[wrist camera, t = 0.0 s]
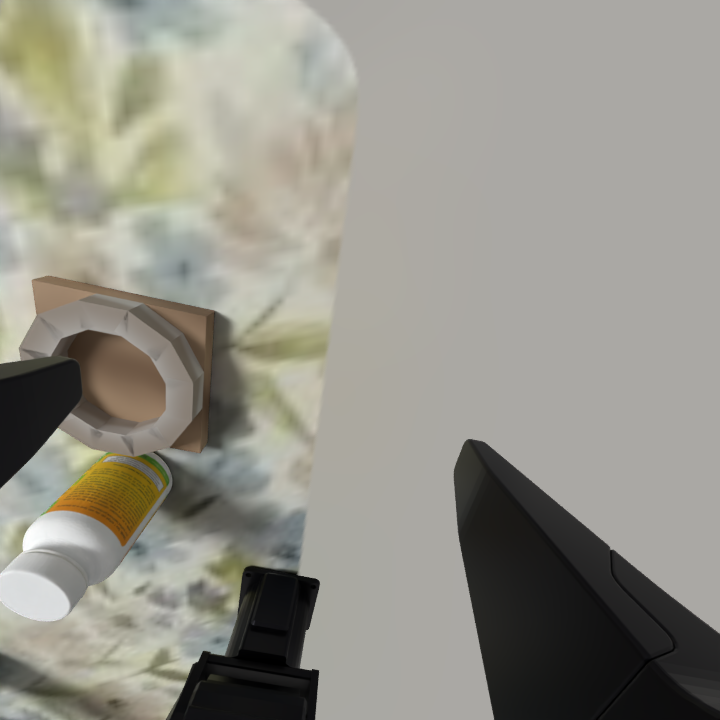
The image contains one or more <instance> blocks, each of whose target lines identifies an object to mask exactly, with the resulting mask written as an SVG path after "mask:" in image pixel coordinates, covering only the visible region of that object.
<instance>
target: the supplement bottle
mask: <svg viewBox="0 0 720 720" xmlns="http://www.w3.org/2000/svg"><path fill="white" fill-rule="evenodd" d="M171 487H172V475H171V472H170V470H169V468H168V466H167V465H166V463H165V462H164V461H163V460H162V459H161V458H160V457H159V456H158V455H156V454H155V453H153V452H150V453H146V454H143V455H139V456H135V457H132V456H127V455H122V454H116V453H111V452H107V453H105V454H104V455H103V456H102V457H101V458H100V459H99V460H98V461H97V462H96V463H95V464H94V465H93V466H92V467H91V468H90V469H89V470H88V471H87V472H86V473H85V474H84V475H82V476H81V477H80V478H79V479H78V480H77V481H76V482H75V483H74V484H73V485H72V486H71V487H70V488H69V489H68V490H67V491H66V492H65V493H64V494H63V495H62V496H61V497H60V498H59V499H58V500H57V501H56V502H55V503H53V504H52V505H51V506H50V507H49V508H48V509H47V510H46V511H45V512H44V513H43V514H42V515H41V516H40V517H39V518H38V519H37V520H36V521H35V522H34V523H33V524H32V525H31V526H30V527H29V528H28V530H27V532H26V534H25V536H24V539H23V552H22V553H21V554H20V555H18V557H17V558H15V559H14V560H13V561H12V562H11V563H10V564H9V565H8V566H7V567H6V569H5V570H4V571H3V572H2V573H1V574H0V601H1V602H2V603H3V604H4V605H5V606H6V607H8V608H9V609H11V610H12V611H14V612H15V613H17V614H19V615H21V616H24V617H26V618H29V619H33V620H38V621H57V620H60V619H62V618H64V617H66V616H67V615H68V614H69V613H70V612H71V611H72V609H73V608H74V607H75V605H76V604H77V603H78V601H79V600H80V599H81V598H82V597H83V595H84V593H85V591H86V589H87V587H88V586H91V585H94V584H97V583H100V582H102V581H104V580H105V579H107V578H108V577H109V576H110V575H111V574H112V573H113V572H114V571H115V570H116V568H117V567H118V566H119V565H120V563H121V562H122V560H123V559H124V557H125V556H126V555H127V553H128V552H129V550H130V549H131V547H132V546H133V544H134V543H135V542H136V540H137V539H138V537H139V536H140V534H141V533H142V532H143V530H144V529H145V527H146V526H147V524H148V523H149V522H150V520H151V519H152V517H153V516H154V514H155V513H156V512H157V510H158V509H159V507H160V506H161V504H162V503H163V501H164V500H165V498H166V497H167V495H168V494H169V492H170V490H171Z"/></svg>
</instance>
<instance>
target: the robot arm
mask: <svg viewBox="0 0 720 720" xmlns="http://www.w3.org/2000/svg"><path fill="white" fill-rule="evenodd" d="M82 393H83V389H82V379H81V369H80V364H79V362H78V361H77V360H75V359H72V358H67V357H62V356H50V357H43V358H37V359H30V360H23V361H17V362H10V363H3V364H0V488H1V487H2V486H3V485H4V484H5V483H7V482H8V481H9V480H10V479H11V478H12V477H13V476H14V475H15V474H16V473H17V472H18V471H19V470H20V469H21V468H22V467H23V466H24V465H25V464H26V463H27V462H28V461H29V460H30V459H31V458H32V457H33V456H34V455H35V454H36V452H37V451H38V450H39V449H40V448H41V447H42V446H43V445H44V443H45V442H46V441H47V440H48V439H49V437H50V436H51V435H52V434H53V433H54V432H55V430H56V429H57V428H58V427H59V426H60V424H61V423H62V422H63V421H64V420H65V418H66V417H67V416H68V415H69V414H70V413H71V411H72V410H73V409H74V408H75V407H76V405H77V404H78V403H79V402H80V400H81V397H82ZM454 486H455V499H456V512H457V525H458V534H459V541H460V546H461V551H462V557H463V562H464V567H465V572H466V577H467V582H468V587H469V593H470V597H471V602H472V608H473V613H474V618H475V623H476V628H477V633H478V638H479V644H480V649H481V654H482V659H483V664H484V669H485V674H486V680H487V684H488V690H489V695H490V700H491V705H492V710H493V715H494V720H720V634H719V633H718V632H717V631H716V630H714V629H713V628H712V627H710V626H709V625H708V624H706V623H705V622H704V621H702V620H701V619H700V618H698V617H697V616H696V615H694V614H693V613H692V612H691V611H689V610H688V609H687V608H685V607H684V606H683V605H682V604H680V603H679V602H678V601H676V600H675V599H674V598H672V597H671V596H670V595H669V594H667V593H666V592H665V591H663V590H662V589H661V588H659V587H658V586H657V585H656V584H655V583H653V582H652V581H651V580H650V579H648V578H647V577H646V576H645V575H644V574H642V573H641V572H640V571H638V570H637V569H636V568H635V567H634V566H632V565H631V564H630V563H629V562H628V561H626V560H625V559H624V558H623V557H622V556H621V555H619V554H618V553H617V552H616V551H614V550H610V547H609V546H608V545H607V544H606V543H605V542H604V541H602V540H601V539H600V538H599V537H598V536H596V535H595V534H594V533H593V532H592V531H590V530H589V529H588V528H587V527H586V526H584V525H583V524H582V523H581V522H580V521H578V520H577V519H576V518H575V517H574V516H572V515H571V514H570V513H569V512H568V511H566V510H565V509H564V508H563V507H562V506H560V505H559V504H558V503H557V502H556V501H554V500H553V499H552V498H551V497H550V496H548V495H547V494H546V493H545V492H544V491H542V490H541V489H540V488H539V487H538V486H536V485H535V484H534V483H533V482H532V481H531V480H529V479H528V478H527V477H526V476H524V475H523V474H522V473H521V472H520V471H519V470H517V469H516V468H515V467H514V466H513V465H511V464H510V463H509V462H508V461H507V460H505V459H504V458H503V457H502V456H501V455H499V454H498V453H497V452H496V451H495V450H493V449H492V448H491V447H490V446H488V445H487V444H486V443H485V442H482V441H477V440H472V439H468V440H466V441H465V443H464V445H463V447H462V450H461V452H460V455H459V457H458V460H457V463H456V465H455V469H454ZM319 585H320V582H319V580H317V579H315V578H309V577H304V576H298V575H293V574H287V573H282V572H276V571H271V570H265V569H259V568H254V567H246V568H245V569H244V572H243V575H242V583H241V591H240V599H239V607H238V617H237V620H236V623H235V626H234V629H233V632H232V635H231V638H230V641H229V644H228V647H227V651H226V654H225V656H222V655H216V654H211V652H208V651H203V652H202V655H201V657H200V659H199V661H198V662H196V663H195V664H193V665H192V668H191V670H190V673H189V676H188V678H187V681H186V683H185V686H184V688H183V690H182V692H181V694H180V696H179V698H178V699H177V701H176V703H175V704H174V706H173V708H172V710H171V711H170V713H169V715H168V717H167V718H166V720H315V712H316V701H317V689H318V677H319V670H314V669H312V671H311V670H305V669H300V663H301V657H302V651H303V644H304V638H305V632H306V630H308V629H309V627H310V623H311V619H312V614H313V610H314V606H315V602H316V598H317V594H318V590H319Z"/></svg>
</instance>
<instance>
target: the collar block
mask: <svg viewBox="0 0 720 720" xmlns="http://www.w3.org/2000/svg"><path fill="white" fill-rule="evenodd" d="M32 286H33V293H34V300H35V307H36V314H37V316H36V318H35V320H34V321H33V323H32V325H31V327H30V329H29V330H28V332H27V334H26V336H25V338H24V340H23V341H22V343H21V345H20V347H19V352H20V357H21V361H23V360H30V359H37V358H43V357H50V356H62V357H67V358H72V359H75V360H77V361H78V362H79V364H80V369H81V379H82V389H83V393H82V397H81V400H80V402H79V403H78V404H77V405H76V407H75V408H74V409H73V410H72V411H71V413H70V414H69V415H68V416H67V417H66V418H65V420H64V421H63V422H62V423H61V424H60V426H59V427H58V428H59V429H61V430H62V431H64V432H66V433H67V434H69V435H70V436H72V437H74V438H75V439H77V440H79V441H80V442H82V443H83V444H85V445H87V446H88V447H90V448H91V449H95V450H101V451H106V452H111V453H116V454H122V455H127V456H132V457H135V456H139V455H143V454H146V453H150V452H154V451H158V450H161V449H165V448H169V447H170V448H175V449H181V450H186V451H191V452H196V453H201V451H202V450H203V448H204V447H205V445H206V444H207V439H208V421H209V403H210V384H211V366H212V348H213V330H214V312H215V311H213V310H208V309H204V308H199V307H194V306H190V305H185V304H180V303H175V302H171V301H166V300H161V299H156V298H152V297H147V296H142V295H137V294H133V293H128V292H123V291H118V290H114V289H109V288H104V287H99V286H95V285H90V284H85V283H80V282H76V281H71V280H66V279H61V278H57V277H52V276H45V277H41V278H37V279H33V280H32Z"/></svg>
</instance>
